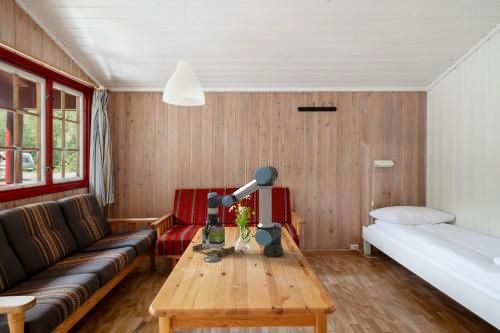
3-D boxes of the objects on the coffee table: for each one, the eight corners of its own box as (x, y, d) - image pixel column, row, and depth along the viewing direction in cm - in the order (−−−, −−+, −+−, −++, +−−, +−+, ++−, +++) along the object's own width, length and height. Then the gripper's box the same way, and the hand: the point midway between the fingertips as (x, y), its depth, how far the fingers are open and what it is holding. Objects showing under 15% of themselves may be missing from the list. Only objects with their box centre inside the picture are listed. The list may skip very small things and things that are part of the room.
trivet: (212, 255, 226) (212, 254, 226) (224, 259, 218) (224, 257, 218) (200, 260, 216) (200, 259, 216) (212, 263, 209) (212, 262, 209)
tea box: (201, 248, 234) (201, 228, 233) (207, 244, 243) (207, 225, 243) (220, 249, 229) (219, 229, 229) (225, 245, 239) (225, 226, 238)
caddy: (209, 245, 252) (209, 241, 252) (234, 251, 235) (234, 246, 235) (192, 251, 238) (192, 245, 238) (217, 257, 221) (217, 252, 221)
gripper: (220, 210, 247) (221, 237, 248) (197, 215, 229) (198, 244, 229) (227, 211, 243) (228, 239, 243) (204, 216, 224) (205, 246, 224)
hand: (213, 241), depth 236 cm, fingers closed on tea box, 12 cm apart
